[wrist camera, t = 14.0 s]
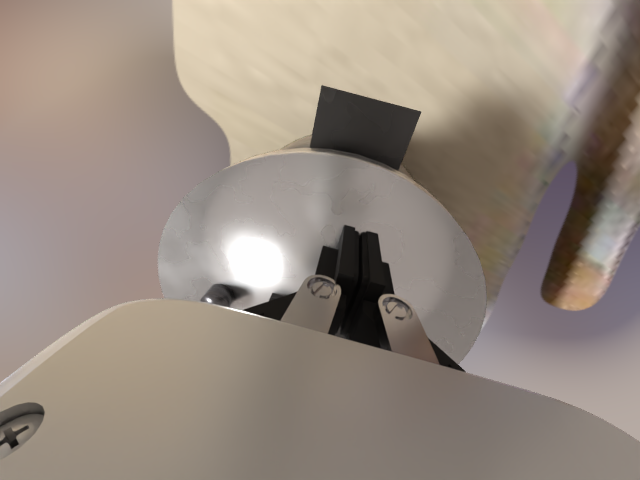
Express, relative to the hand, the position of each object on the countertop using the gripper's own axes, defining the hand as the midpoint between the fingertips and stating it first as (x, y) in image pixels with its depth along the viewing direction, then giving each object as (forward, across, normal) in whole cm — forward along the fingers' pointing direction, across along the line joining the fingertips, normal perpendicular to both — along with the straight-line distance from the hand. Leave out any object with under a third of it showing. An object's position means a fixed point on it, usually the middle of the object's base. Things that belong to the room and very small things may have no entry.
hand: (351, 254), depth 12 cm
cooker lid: (+2, +1, +5) cm, 5 cm away
